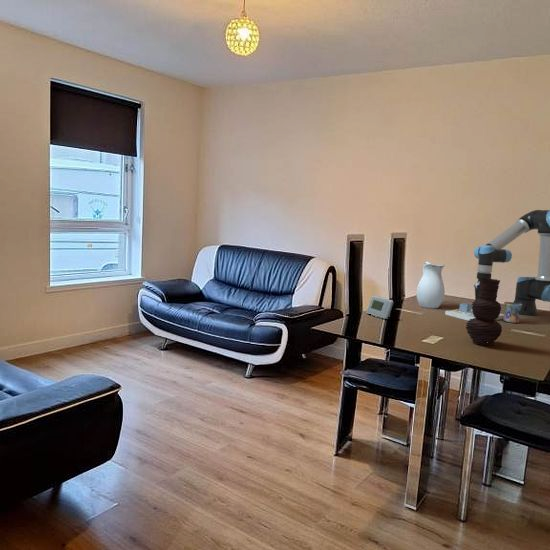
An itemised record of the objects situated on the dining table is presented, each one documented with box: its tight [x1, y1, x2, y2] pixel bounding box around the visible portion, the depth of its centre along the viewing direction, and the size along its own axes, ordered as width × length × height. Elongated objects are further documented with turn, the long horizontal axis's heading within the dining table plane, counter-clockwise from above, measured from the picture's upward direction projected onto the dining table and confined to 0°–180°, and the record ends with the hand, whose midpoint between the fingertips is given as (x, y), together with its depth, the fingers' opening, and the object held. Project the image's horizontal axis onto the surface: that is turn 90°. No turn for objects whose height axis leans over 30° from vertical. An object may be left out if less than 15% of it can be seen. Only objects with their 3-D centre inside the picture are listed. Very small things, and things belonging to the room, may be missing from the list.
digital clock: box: [366, 295, 394, 320], centre depth 271 cm, size 16×9×11 cm, turn 20°
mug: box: [502, 301, 522, 324], centre depth 280 cm, size 12×9×11 cm
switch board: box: [444, 307, 505, 322], centre depth 289 cm, size 30×20×3 cm, turn 122°
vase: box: [465, 278, 503, 346], centre depth 225 cm, size 15×15×30 cm
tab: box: [458, 302, 472, 312], centre depth 291 cm, size 4×5×5 cm
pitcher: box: [415, 261, 446, 309], centre depth 313 cm, size 24×17×28 cm
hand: (479, 312), depth 282 cm, fingers closed
